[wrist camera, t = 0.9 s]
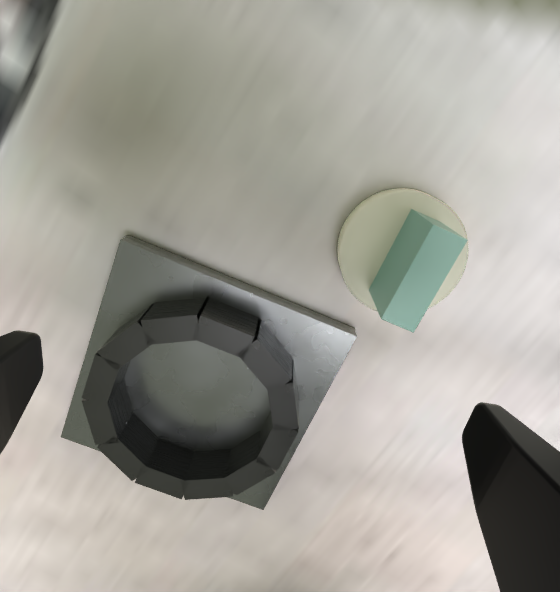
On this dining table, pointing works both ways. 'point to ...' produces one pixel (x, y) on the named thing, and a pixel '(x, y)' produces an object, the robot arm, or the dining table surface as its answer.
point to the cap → (402, 254)
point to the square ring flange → (200, 377)
